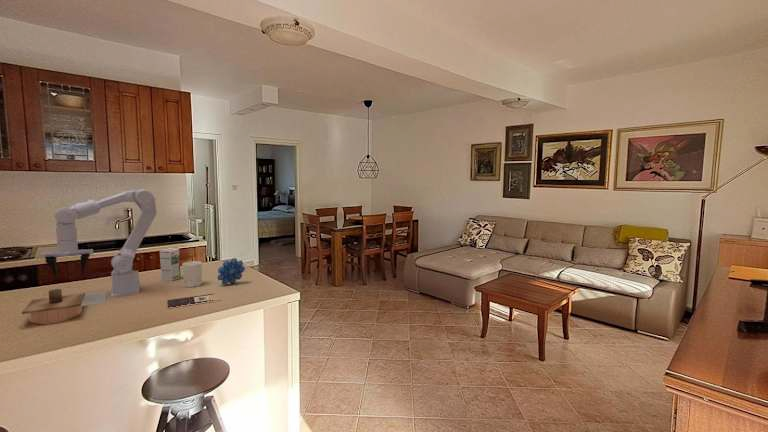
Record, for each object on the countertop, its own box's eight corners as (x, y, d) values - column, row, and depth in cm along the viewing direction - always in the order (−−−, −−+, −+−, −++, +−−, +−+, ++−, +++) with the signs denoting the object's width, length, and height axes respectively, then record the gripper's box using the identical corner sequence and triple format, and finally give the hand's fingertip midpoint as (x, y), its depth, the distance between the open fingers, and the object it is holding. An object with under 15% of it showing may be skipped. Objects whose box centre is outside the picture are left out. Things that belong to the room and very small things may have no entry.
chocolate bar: (167, 300, 137) (218, 293, 147) (167, 302, 137) (218, 295, 147) (167, 307, 130) (221, 299, 139) (168, 309, 130) (221, 301, 139)
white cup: (189, 288, 154) (188, 266, 153) (179, 285, 158) (178, 263, 157) (206, 284, 160) (205, 262, 160) (196, 281, 165) (195, 260, 164)
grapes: (243, 280, 168) (242, 255, 167) (246, 283, 162) (245, 258, 161) (216, 283, 162) (215, 257, 161) (218, 287, 156) (217, 260, 155)
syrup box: (171, 281, 165) (170, 250, 163) (160, 280, 166) (159, 249, 165) (181, 278, 170) (179, 248, 169) (170, 277, 172) (169, 247, 170)
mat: (107, 291, 148) (107, 291, 148) (104, 303, 134) (104, 302, 134) (52, 299, 138) (52, 298, 138) (43, 312, 124) (43, 311, 124)
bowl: (83, 307, 130) (83, 295, 129) (79, 318, 119) (78, 305, 119) (34, 314, 122) (33, 301, 122) (25, 327, 112) (24, 313, 111)
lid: (85, 294, 130) (84, 282, 130) (80, 305, 119) (79, 292, 118) (32, 301, 122) (31, 288, 122) (21, 314, 111) (20, 299, 110)
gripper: (38, 242, 126) (41, 280, 127) (91, 239, 134) (93, 274, 135) (42, 240, 132) (45, 275, 133) (92, 237, 140) (94, 270, 141)
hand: (69, 275), depth 135 cm, fingers open, 7 cm apart
